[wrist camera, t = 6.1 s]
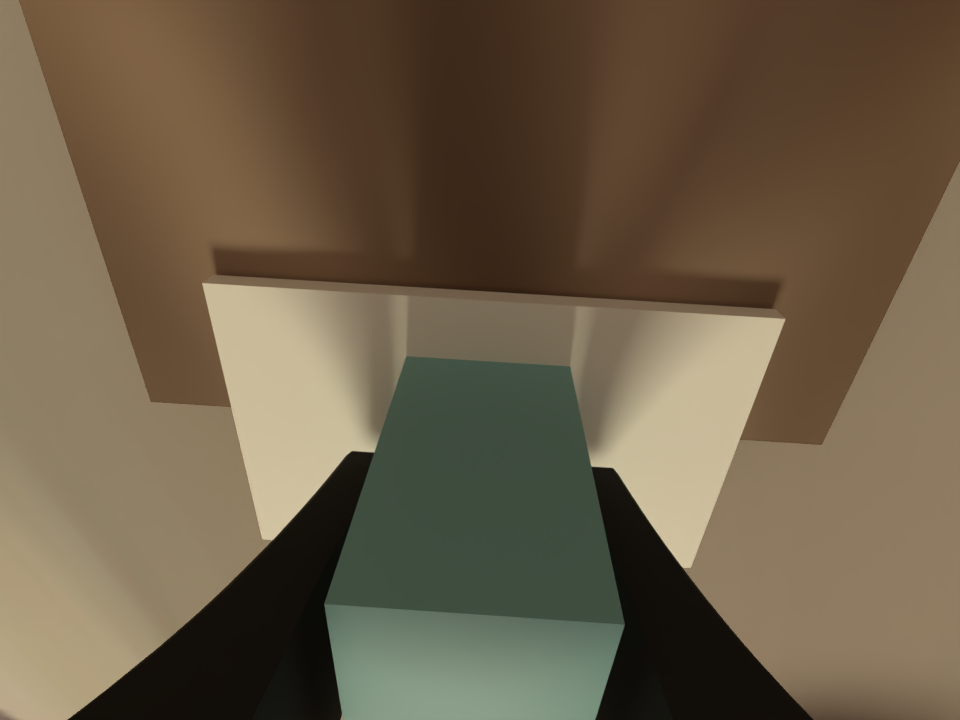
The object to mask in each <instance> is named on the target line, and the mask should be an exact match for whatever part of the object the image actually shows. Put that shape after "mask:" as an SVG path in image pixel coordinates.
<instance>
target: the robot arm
mask: <svg viewBox="0 0 960 720" xmlns="http://www.w3.org/2000/svg"><path fill="white" fill-rule="evenodd" d="M373 455H374V452H360V451H351V452H350V453H349V454H347V455H346V456H345V458H344V459H343V460H342V461H341V463H340V464H339V465H338V466H337V467H336V469H335V470H334V471H333V472H332V474H331V475H330V476H329V477H328V478H327V480H326V481H325V482H324V483H323V484H322V486H321V487H320V488H319V489H318V490H317V492H316V493H315V494H314V495H313V496H312V497H311V498H310V500H309V501H308V502H307V503H306V504H305V505H304V507H303V508H302V509H301V510H300V511H299V512H298V513H297V514H296V515H295V516H294V518H293V519H292V520H291V521H290V522H289V523H288V524H287V525H286V526H285V527H284V528H283V530H282V531H281V532H280V533H279V534H278V535H277V536H276V537H275V538H274V539H273V540H272V542H271V543H270V544H269V545H268V546H267V547H266V548H265V549H264V550H263V551H262V552H261V553H260V554H259V555H258V556H257V557H256V558H255V559H254V560H253V561H252V562H251V563H250V564H249V565H248V566H247V567H246V568H245V569H244V570H243V571H242V572H241V573H240V574H239V575H238V576H237V577H236V578H235V579H234V580H233V581H232V582H231V583H230V584H229V585H228V586H227V587H226V588H225V589H224V590H222V591H221V592H220V593H219V594H218V595H217V596H216V597H215V598H214V599H213V600H212V601H211V602H210V603H209V604H207V605H206V606H205V607H204V608H203V609H202V610H201V611H200V612H199V613H198V614H196V615H195V616H194V617H193V618H192V619H191V620H190V621H189V622H187V623H186V624H185V625H184V626H183V627H182V628H181V629H179V630H178V631H177V632H176V633H175V634H174V635H173V636H171V637H170V638H169V639H168V640H167V641H166V642H164V643H163V644H162V645H161V646H160V647H159V648H157V649H156V650H155V651H154V652H153V653H151V654H150V655H149V656H148V657H146V658H145V659H144V660H143V661H141V662H140V663H139V664H138V665H137V666H135V667H134V668H133V669H132V670H130V671H129V672H128V673H127V674H125V675H124V676H123V677H122V678H120V679H119V680H118V681H117V682H116V683H114V684H113V685H112V686H111V687H109V688H108V689H107V690H106V691H104V692H103V693H102V694H100V695H99V696H98V697H97V698H95V699H94V700H93V701H91V702H90V703H89V704H88V705H86V706H85V707H84V708H82V709H81V710H80V711H78V712H77V713H76V714H75V715H73V716H72V717H71V718H69V719H68V720H340V719H341V715H342V710H341V704H340V698H339V692H338V685H337V679H336V673H335V667H334V661H333V655H332V649H331V643H330V637H329V630H328V624H327V618H326V612H325V606H324V603H325V600H326V597H327V594H328V591H329V588H330V585H331V582H332V579H333V576H334V573H335V570H336V567H337V564H338V561H339V558H340V555H341V552H342V549H343V546H344V543H345V540H346V537H347V534H348V531H349V528H350V525H351V522H352V519H353V516H354V513H355V510H356V506H357V503H358V500H359V497H360V494H361V491H362V488H363V485H364V482H365V479H366V476H367V473H368V470H369V467H370V464H371V461H372V458H373ZM592 472H593V477H594V481H595V486H596V491H597V496H598V500H599V505H600V510H601V515H602V519H603V524H604V529H605V533H606V538H607V543H608V548H609V552H610V557H611V562H612V566H613V571H614V576H615V581H616V585H617V590H618V595H619V600H620V604H621V609H622V614H623V618H624V623H625V626H624V629H623V632H622V635H621V639H620V642H619V645H618V648H617V651H616V655H615V658H614V661H613V664H612V667H611V671H610V674H609V677H608V680H607V684H606V687H605V690H604V693H603V696H602V700H601V703H600V706H599V709H598V712H597V716H596V719H595V720H813V719H812V718H811V717H810V716H809V715H808V714H807V712H806V711H805V710H804V709H803V708H802V707H801V706H800V705H799V704H798V703H797V702H796V701H795V700H794V699H793V698H792V697H791V696H790V695H789V694H788V693H787V692H786V691H785V689H784V688H783V687H782V686H781V685H780V684H779V683H778V682H777V681H776V680H775V679H774V677H773V676H772V675H771V674H770V673H769V672H768V671H767V670H766V669H765V668H764V667H763V665H762V664H761V663H760V662H759V661H758V660H757V659H756V658H755V656H754V655H753V654H752V653H751V652H750V651H749V650H748V648H747V647H746V646H745V645H744V644H743V643H742V642H741V640H740V639H739V638H738V637H737V636H736V634H735V633H734V632H733V631H732V630H731V629H730V627H729V626H728V625H727V624H726V622H725V621H724V620H723V619H722V618H721V616H720V615H719V614H718V613H717V611H716V610H715V609H714V608H713V607H712V605H711V604H710V603H709V602H708V600H707V599H706V598H705V597H704V595H703V594H702V593H701V591H700V590H699V589H698V588H697V586H696V585H695V584H694V582H693V581H692V580H691V579H690V577H689V576H688V575H687V573H686V572H685V570H684V569H683V568H682V566H681V565H680V564H679V562H678V561H677V560H676V558H675V557H674V556H673V554H672V553H671V552H670V550H669V549H668V547H667V546H666V545H665V543H664V542H663V540H662V539H661V538H660V536H659V535H658V533H657V532H656V531H655V529H654V528H653V526H652V525H651V523H650V522H649V520H648V519H647V517H646V516H645V514H644V513H643V511H642V510H641V508H640V507H639V505H638V504H637V502H636V501H635V499H634V498H633V496H632V495H631V493H630V492H629V490H628V489H627V487H626V485H625V484H624V482H623V481H622V479H621V478H620V476H619V474H618V473H617V472H616V471H615V470H614V468H606V467H592Z"/></svg>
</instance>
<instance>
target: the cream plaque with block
mask: <svg viewBox="0 0 960 720" xmlns="http://www.w3.org/2000/svg"><path fill="white" fill-rule="evenodd" d="M202 285H203V289H204V293H205V298H206V302H207V306H208V310H209V315H210V319H211V323H212V327H213V332H214V336H215V340H216V344H217V349H218V353H219V357H220V361H221V366H222V370H223V374H224V378H225V383H226V387H227V391H228V395H229V400H230V404H231V408H232V412H233V417H234V421H235V425H236V429H237V433H238V438H239V442H240V446H241V450H242V455H243V459H244V463H245V467H246V472H247V476H248V480H249V484H250V489H251V493H252V497H253V501H254V506H255V510H256V514H257V518H258V523H259V527H260V531H261V535H262V539H265V540H273V539H274V538H275V537H276V536H277V535H278V534H279V533H280V532H281V531H282V530H283V528H284V527H285V526H286V525H287V524H288V523H289V522H290V521H291V520H292V519H293V518H294V516H295V515H296V514H297V513H298V512H299V511H300V510H301V509H302V508H303V507H304V505H305V504H306V503H307V502H308V501H309V500H310V498H311V497H312V496H313V495H314V494H315V493H316V492H317V490H318V489H319V488H320V487H321V486H322V484H323V483H324V482H325V481H326V480H327V478H328V477H329V476H330V475H331V474H332V472H333V471H334V470H335V469H336V467H337V466H338V465H339V464H340V463H341V461H342V460H343V459H344V458H345V456H346V455H347V454H349V453H350V452H351V451H360V452H374V455H373V458H372V461H371V464H370V467H369V470H368V473H367V476H366V479H365V482H364V485H363V488H362V491H361V494H360V497H359V500H358V503H357V506H356V510H355V513H354V516H353V519H352V522H351V525H350V528H349V531H348V534H347V537H346V540H345V543H344V546H343V549H342V552H341V555H340V558H339V561H338V564H337V567H336V570H335V573H334V576H333V579H332V582H331V585H330V588H329V591H328V594H327V597H326V600H325V603H324V606H325V612H326V618H327V624H328V630H329V637H330V643H331V649H332V655H333V661H334V667H335V673H336V679H337V685H338V692H339V698H340V704H341V710H342V716H343V720H595V719H596V716H597V712H598V709H599V706H600V703H601V700H602V696H603V693H604V690H605V687H606V684H607V680H608V677H609V674H610V671H611V667H612V664H613V661H614V658H615V655H616V651H617V648H618V645H619V642H620V639H621V635H622V632H623V629H624V626H625V623H624V618H623V614H622V609H621V604H620V600H619V595H618V590H617V585H616V581H615V576H614V571H613V566H612V562H611V557H610V552H609V548H608V543H607V538H606V533H605V529H604V524H603V519H602V515H601V510H600V505H599V500H598V496H597V491H596V486H595V481H594V477H593V472H592V467H606V468H614V470H615V471H616V472H617V473H618V474H619V476H620V478H621V479H622V481H623V482H624V484H625V485H626V487H627V489H628V490H629V492H630V493H631V495H632V496H633V498H634V499H635V501H636V502H637V504H638V505H639V507H640V508H641V510H642V511H643V513H644V514H645V516H646V517H647V519H648V520H649V522H650V523H651V525H652V526H653V528H654V529H655V531H656V532H657V533H658V535H659V536H660V538H661V539H662V540H663V542H664V543H665V545H666V546H667V547H668V549H669V550H670V552H671V553H672V554H673V556H674V557H675V558H676V560H677V561H678V562H679V564H680V565H681V566H682V567H683V568H691V566H692V563H693V560H694V558H695V555H696V553H697V550H698V547H699V545H700V542H701V539H702V537H703V534H704V532H705V529H706V526H707V524H708V521H709V518H710V516H711V513H712V511H713V508H714V505H715V503H716V500H717V498H718V495H719V492H720V490H721V487H722V484H723V482H724V479H725V477H726V474H727V471H728V469H729V466H730V463H731V461H732V458H733V456H734V453H735V450H736V448H737V445H738V442H739V440H740V437H741V435H742V432H743V429H744V427H745V424H746V421H747V419H748V416H749V414H750V411H751V408H752V406H753V403H754V400H755V398H756V395H757V393H758V390H759V387H760V385H761V382H762V380H763V377H764V374H765V372H766V369H767V366H768V364H769V361H770V359H771V356H772V353H773V351H774V348H775V345H776V343H777V340H778V338H779V335H780V332H781V330H782V327H783V324H784V322H785V318H784V317H783V316H782V315H781V314H780V313H779V312H778V311H777V310H775V309H765V308H749V307H732V306H716V305H700V304H683V303H667V302H651V301H634V300H618V299H602V298H585V297H569V296H553V295H536V294H520V293H504V292H487V291H471V290H455V289H438V288H422V287H406V286H389V285H373V284H357V283H340V282H324V281H308V280H291V279H275V278H259V277H242V276H226V275H212V276H211V277H210V278H208V279H207V280H206V281H204V282H203V283H202Z"/></svg>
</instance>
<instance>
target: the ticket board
mask: <svg viewBox="0 0 960 720" xmlns="http://www.w3.org/2000/svg"><path fill="white" fill-rule="evenodd" d="M19 2H20V5H21V8H22V11H23V14H24V17H25V20H26V23H27V26H28V29H29V32H30V35H31V38H32V41H33V44H34V47H35V50H36V53H37V56H38V59H39V63H40V66H41V69H42V72H43V75H44V78H45V81H46V84H47V87H48V90H49V93H50V96H51V99H52V102H53V105H54V108H55V111H56V114H57V117H58V120H59V123H60V126H61V129H62V133H63V136H64V139H65V142H66V145H67V148H68V151H69V154H70V157H71V160H72V163H73V166H74V169H75V172H76V175H77V178H78V181H79V184H80V187H81V190H82V193H83V196H84V200H85V203H86V206H87V209H88V212H89V215H90V218H91V221H92V224H93V227H94V230H95V233H96V236H97V239H98V242H99V245H100V248H101V251H102V254H103V257H104V260H105V263H106V266H107V270H108V273H109V276H110V279H111V282H112V285H113V288H114V291H115V294H116V297H117V300H118V303H119V306H120V309H121V312H122V315H123V318H124V321H125V324H126V327H127V330H128V333H129V336H130V340H131V343H132V346H133V349H134V352H135V355H136V358H137V361H138V364H139V367H140V370H141V373H142V376H143V379H144V382H145V385H146V388H147V391H148V394H149V397H150V400H151V402H162V403H178V404H193V405H209V406H225V407H231V404H230V400H229V395H228V391H227V387H226V383H225V378H224V374H223V370H222V366H221V361H220V357H219V353H218V349H217V344H216V340H215V336H214V332H213V327H212V323H211V319H210V315H209V310H208V306H207V302H206V298H205V293H204V289H203V285H202V283H203V282H204V281H206V280H207V279H208V278H210V277H211V276H212V275H226V276H242V277H259V278H275V279H291V280H308V281H324V282H340V283H357V284H373V285H389V286H406V287H422V288H438V289H455V290H471V291H487V292H504V293H520V294H536V295H553V296H569V297H585V298H602V299H618V300H634V301H651V302H667V303H683V304H700V305H716V306H732V307H749V308H765V309H775V310H777V311H778V312H779V313H780V314H781V315H782V316H783V317H784V318H785V322H784V324H783V327H782V330H781V332H780V335H779V338H778V340H777V343H776V345H775V348H774V351H773V353H772V356H771V359H770V361H769V364H768V366H767V369H766V372H765V374H764V377H763V380H762V382H761V385H760V387H759V390H758V393H757V395H756V398H755V400H754V403H753V406H752V408H751V411H750V414H749V416H748V419H747V421H746V424H745V427H744V429H743V432H742V435H741V437H740V440H755V441H770V442H786V443H802V444H817V445H822V443H823V441H824V439H825V437H826V435H827V433H828V431H829V429H830V427H831V425H832V423H833V421H834V419H835V417H836V414H837V412H838V410H839V408H840V406H841V404H842V402H843V400H844V398H845V396H846V394H847V392H848V390H849V388H850V386H851V384H852V382H853V379H854V377H855V375H856V373H857V371H858V369H859V367H860V365H861V363H862V361H863V359H864V357H865V355H866V353H867V351H868V349H869V347H870V344H871V342H872V340H873V338H874V336H875V334H876V332H877V330H878V328H879V326H880V324H881V322H882V320H883V318H884V316H885V314H886V312H887V309H888V307H889V305H890V303H891V301H892V299H893V297H894V295H895V293H896V291H897V289H898V287H899V285H900V283H901V281H902V279H903V277H904V275H905V272H906V270H907V268H908V266H909V264H910V262H911V260H912V258H913V256H914V254H915V252H916V250H917V248H918V246H919V244H920V242H921V240H922V237H923V235H924V233H925V231H926V229H927V227H928V225H929V223H930V221H931V219H932V217H933V215H934V213H935V211H936V209H937V207H938V205H939V202H940V200H941V198H942V196H943V194H944V192H945V190H946V188H947V186H948V184H949V182H950V180H951V178H952V176H953V174H954V172H955V170H956V167H957V165H958V163H959V161H960V0H19Z"/></svg>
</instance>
